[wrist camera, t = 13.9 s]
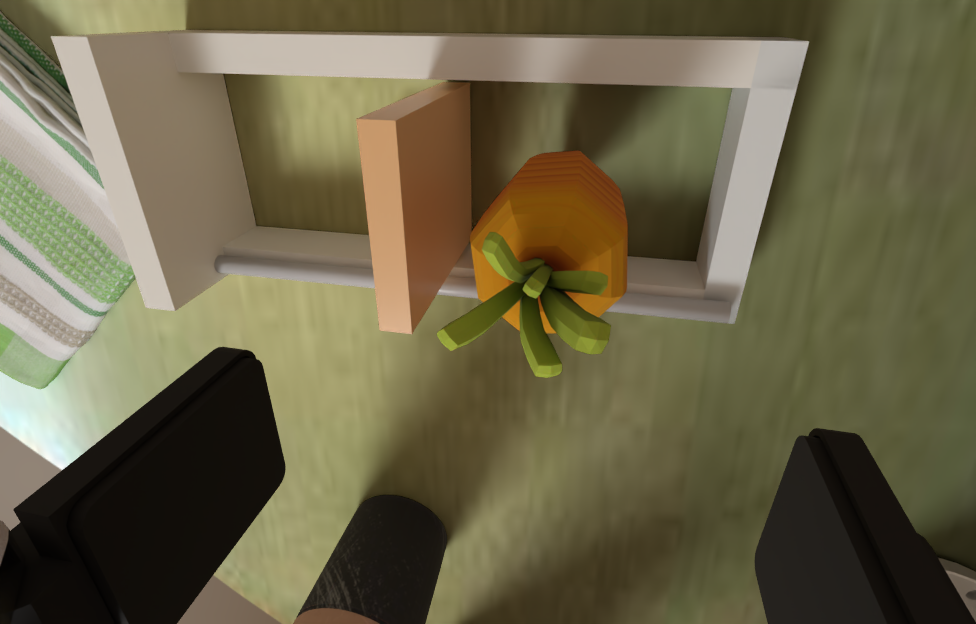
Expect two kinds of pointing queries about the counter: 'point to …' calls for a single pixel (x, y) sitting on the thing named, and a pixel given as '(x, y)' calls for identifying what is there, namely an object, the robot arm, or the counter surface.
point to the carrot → (549, 259)
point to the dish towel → (49, 220)
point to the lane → (447, 56)
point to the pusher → (416, 197)
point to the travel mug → (380, 567)
